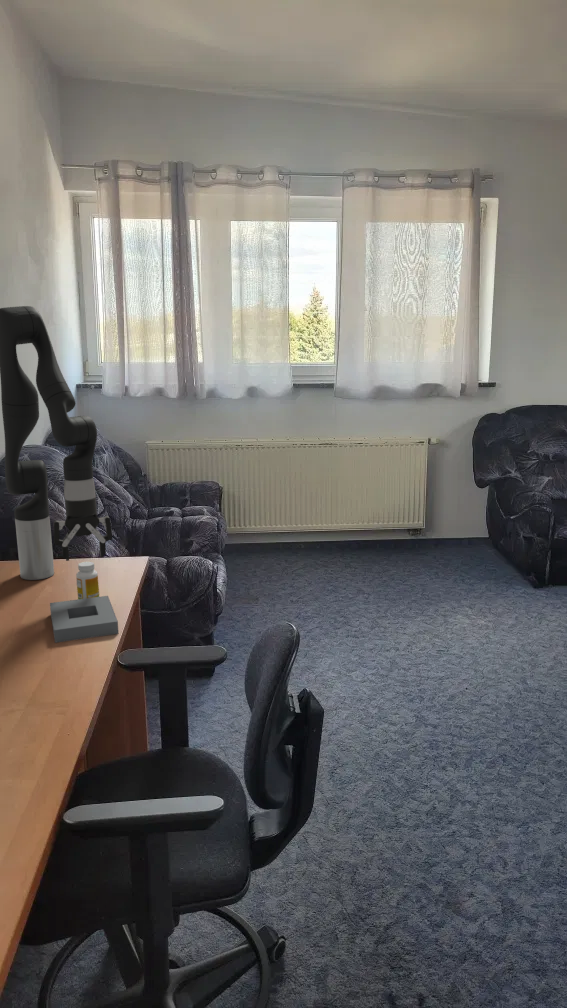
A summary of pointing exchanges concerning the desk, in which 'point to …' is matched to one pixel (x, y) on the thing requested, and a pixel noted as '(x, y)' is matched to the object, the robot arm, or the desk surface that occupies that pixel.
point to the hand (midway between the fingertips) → (84, 558)
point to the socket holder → (83, 619)
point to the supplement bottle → (87, 581)
